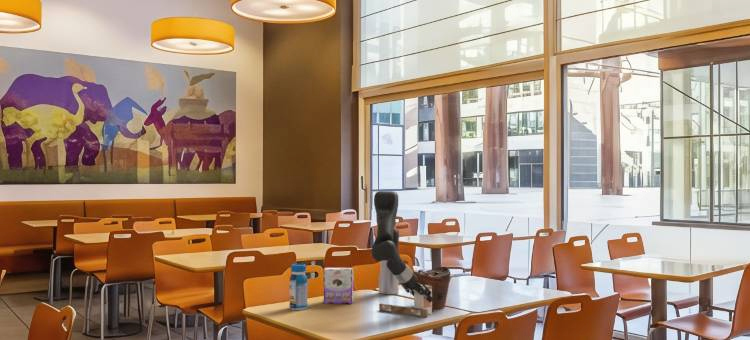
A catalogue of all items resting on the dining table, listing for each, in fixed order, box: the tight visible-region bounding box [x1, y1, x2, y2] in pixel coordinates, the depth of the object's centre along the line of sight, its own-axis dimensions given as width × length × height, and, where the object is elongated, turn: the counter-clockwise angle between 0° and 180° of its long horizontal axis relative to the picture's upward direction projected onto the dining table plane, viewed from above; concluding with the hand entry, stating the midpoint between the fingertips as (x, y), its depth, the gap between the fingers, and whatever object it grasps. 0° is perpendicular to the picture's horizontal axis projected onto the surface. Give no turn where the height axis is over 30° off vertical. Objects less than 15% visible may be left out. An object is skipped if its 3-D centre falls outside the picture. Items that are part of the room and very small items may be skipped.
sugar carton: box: [413, 285, 433, 315], centre depth 284 cm, size 6×6×12 cm
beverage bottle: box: [288, 263, 309, 311], centre depth 294 cm, size 8×8×20 cm
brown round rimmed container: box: [412, 266, 451, 310], centre depth 299 cm, size 18×20×18 cm
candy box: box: [323, 267, 354, 305], centre depth 308 cm, size 14×6×16 cm, turn 84°
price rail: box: [378, 303, 429, 318], centre depth 283 cm, size 24×2×3 cm, turn 56°
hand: (424, 299), depth 285 cm, fingers open, 8 cm apart
